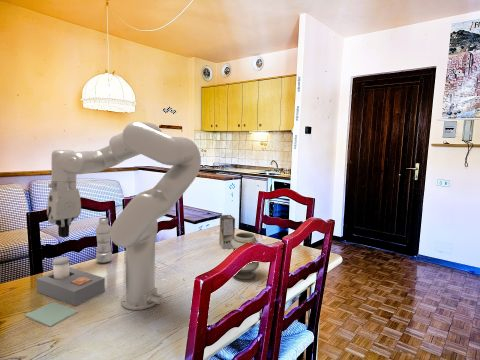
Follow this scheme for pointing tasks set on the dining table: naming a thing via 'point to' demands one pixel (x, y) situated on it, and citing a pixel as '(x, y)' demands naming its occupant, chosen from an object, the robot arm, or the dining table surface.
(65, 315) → the mat
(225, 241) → the coffee box
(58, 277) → the cylinder
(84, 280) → the square push button
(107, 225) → the plastic bottle
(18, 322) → the dining table surface
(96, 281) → the housing
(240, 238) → the apothecary jar
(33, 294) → the dining table surface
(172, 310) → the dining table surface
